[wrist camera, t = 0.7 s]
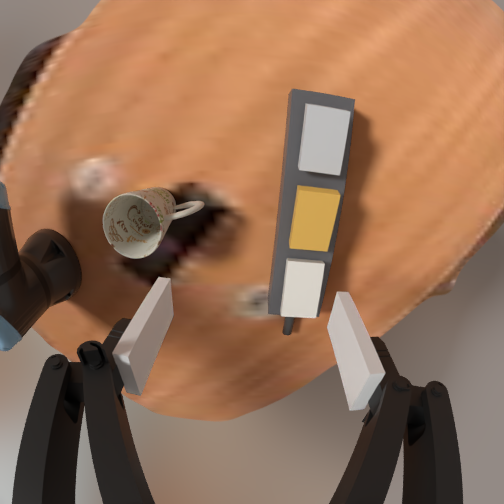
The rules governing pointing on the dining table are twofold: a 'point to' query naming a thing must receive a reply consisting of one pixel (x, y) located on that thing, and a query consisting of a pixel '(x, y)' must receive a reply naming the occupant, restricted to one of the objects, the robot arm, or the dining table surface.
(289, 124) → the power strip
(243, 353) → the dining table surface
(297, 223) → the block
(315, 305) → the block
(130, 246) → the mug
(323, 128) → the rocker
